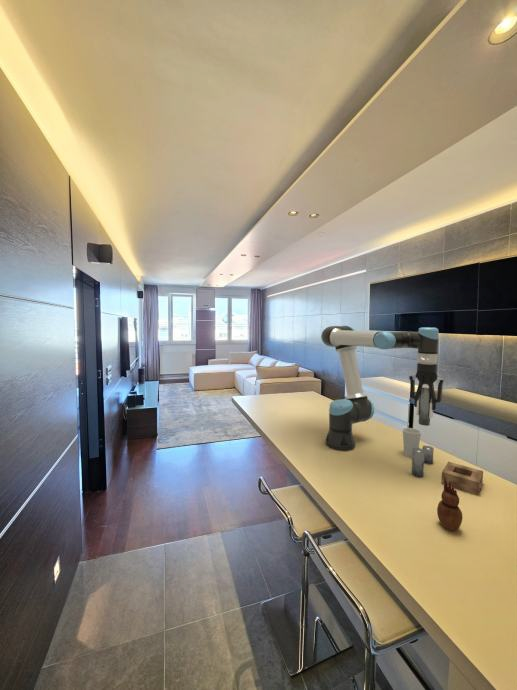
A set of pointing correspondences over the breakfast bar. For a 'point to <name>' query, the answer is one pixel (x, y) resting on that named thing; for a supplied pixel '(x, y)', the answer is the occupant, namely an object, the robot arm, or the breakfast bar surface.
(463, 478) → the hole block
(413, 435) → the cup
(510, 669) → the breakfast bar surface
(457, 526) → the wooden figurine
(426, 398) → the long pin
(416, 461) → the medium pin
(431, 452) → the short pin
